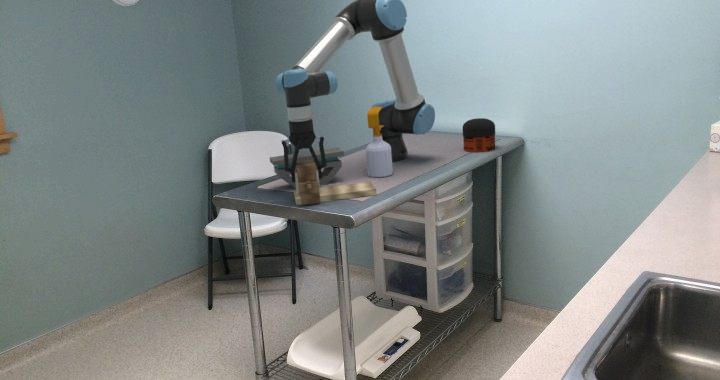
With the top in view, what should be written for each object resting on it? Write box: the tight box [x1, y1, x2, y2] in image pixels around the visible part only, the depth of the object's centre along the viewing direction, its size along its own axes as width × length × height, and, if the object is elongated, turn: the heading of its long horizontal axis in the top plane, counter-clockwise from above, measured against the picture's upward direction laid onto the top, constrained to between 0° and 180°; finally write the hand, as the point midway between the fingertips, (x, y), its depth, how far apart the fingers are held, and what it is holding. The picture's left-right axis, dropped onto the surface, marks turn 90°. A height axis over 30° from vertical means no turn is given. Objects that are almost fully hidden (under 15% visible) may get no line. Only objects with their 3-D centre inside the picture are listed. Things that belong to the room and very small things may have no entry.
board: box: [293, 181, 377, 206], centre depth 203 cm, size 26×10×2 cm, turn 100°
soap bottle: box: [365, 106, 393, 178], centre depth 222 cm, size 9×9×25 cm
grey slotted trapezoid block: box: [269, 147, 345, 189], centre depth 220 cm, size 25×8×11 cm, turn 108°
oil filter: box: [462, 117, 496, 154], centre depth 252 cm, size 13×12×13 cm
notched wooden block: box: [296, 160, 321, 206], centre depth 198 cm, size 6×11×12 cm, turn 9°
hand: (308, 189), depth 201 cm, fingers closed on notched wooden block, 6 cm apart
